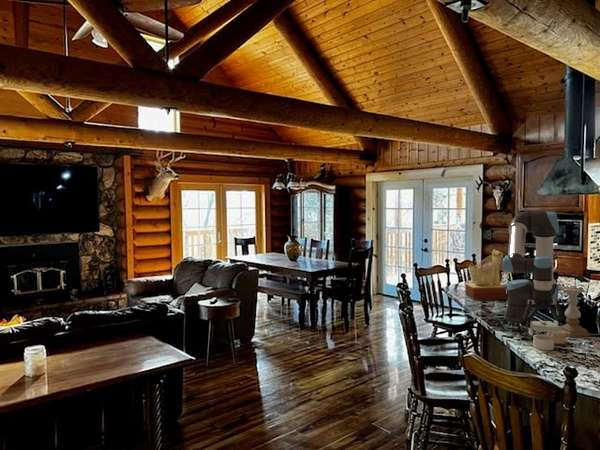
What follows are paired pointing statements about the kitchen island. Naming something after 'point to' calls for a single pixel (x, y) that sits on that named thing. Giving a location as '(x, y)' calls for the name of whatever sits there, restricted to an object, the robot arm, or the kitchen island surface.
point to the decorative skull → (490, 269)
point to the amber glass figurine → (486, 280)
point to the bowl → (543, 342)
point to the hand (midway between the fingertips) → (543, 334)
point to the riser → (558, 337)
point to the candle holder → (573, 315)
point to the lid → (545, 326)
